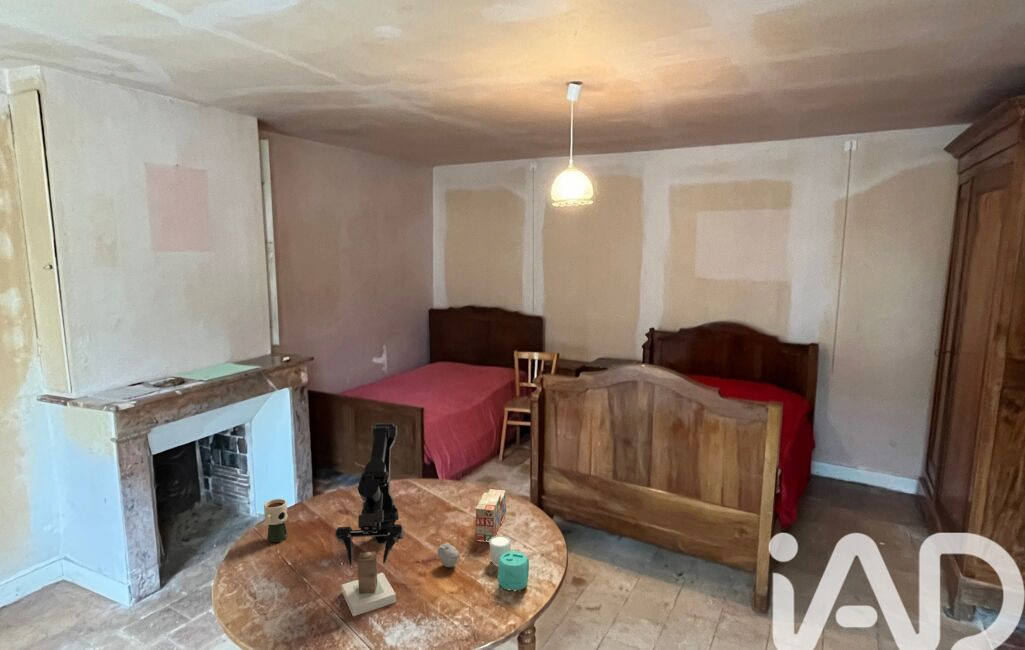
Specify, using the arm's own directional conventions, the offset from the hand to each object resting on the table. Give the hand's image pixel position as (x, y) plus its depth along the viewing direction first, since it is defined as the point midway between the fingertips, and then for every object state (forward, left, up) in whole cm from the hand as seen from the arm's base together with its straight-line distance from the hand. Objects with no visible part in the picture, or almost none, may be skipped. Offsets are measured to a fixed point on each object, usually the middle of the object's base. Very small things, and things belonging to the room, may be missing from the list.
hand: (367, 564), depth 157 cm
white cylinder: (-41, +3, -10) cm, 42 cm away
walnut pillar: (0, 0, -7) cm, 7 cm away
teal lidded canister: (-39, +15, -10) cm, 43 cm away
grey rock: (-26, -3, -10) cm, 28 cm away
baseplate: (0, 0, -10) cm, 10 cm away
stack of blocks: (-49, -17, -10) cm, 53 cm away
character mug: (+18, -47, -10) cm, 51 cm away
